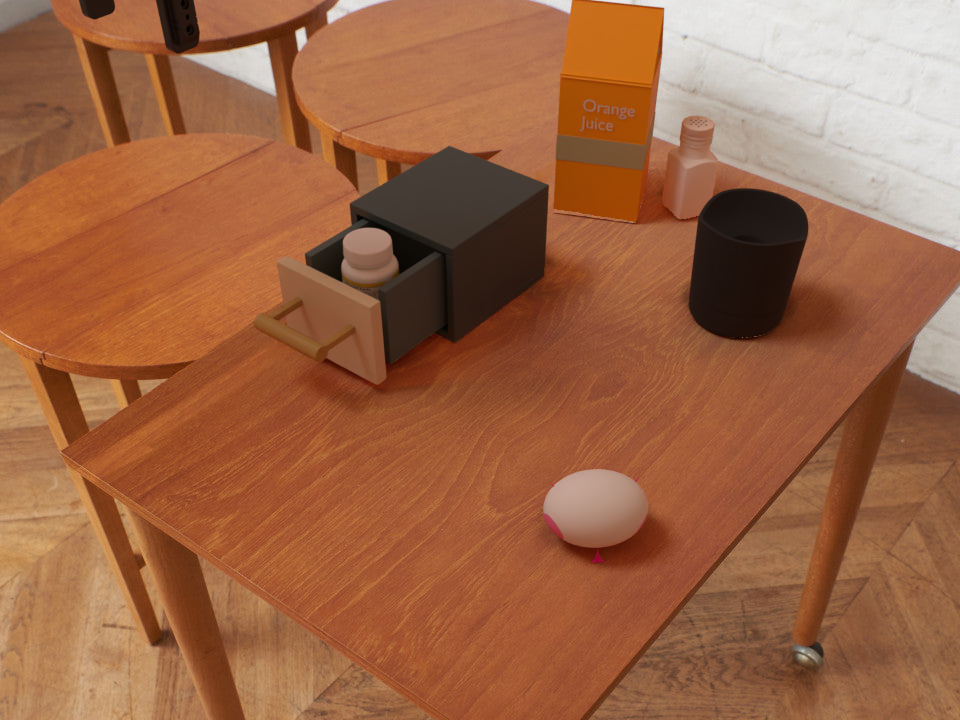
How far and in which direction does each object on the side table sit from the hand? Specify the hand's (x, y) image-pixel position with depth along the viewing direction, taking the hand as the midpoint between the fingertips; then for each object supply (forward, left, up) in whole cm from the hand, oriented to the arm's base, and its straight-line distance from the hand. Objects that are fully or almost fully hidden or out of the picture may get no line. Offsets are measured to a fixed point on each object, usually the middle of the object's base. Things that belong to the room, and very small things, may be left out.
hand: (141, 31), depth 70 cm
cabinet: (+22, -8, -28) cm, 37 cm away
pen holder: (+35, -31, -28) cm, 55 cm away
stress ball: (+4, -36, -28) cm, 46 cm away
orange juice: (+44, -10, -28) cm, 53 cm away
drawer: (+10, -8, -27) cm, 30 cm away
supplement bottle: (+11, -8, -26) cm, 30 cm away
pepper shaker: (+48, -18, -28) cm, 59 cm away
